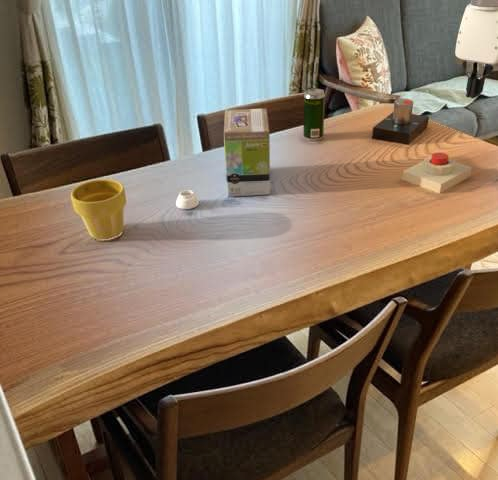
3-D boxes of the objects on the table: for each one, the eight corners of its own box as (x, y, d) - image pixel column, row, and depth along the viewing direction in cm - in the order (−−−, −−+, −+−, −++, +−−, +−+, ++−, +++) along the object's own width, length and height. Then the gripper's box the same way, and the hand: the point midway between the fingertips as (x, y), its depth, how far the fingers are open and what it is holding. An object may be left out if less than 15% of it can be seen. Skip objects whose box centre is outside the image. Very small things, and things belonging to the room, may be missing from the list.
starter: (432, 164, 129) (435, 147, 127) (470, 176, 123) (474, 159, 121) (401, 180, 124) (404, 163, 121) (439, 193, 118) (442, 176, 115)
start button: (436, 158, 123) (437, 151, 122) (450, 163, 121) (451, 155, 120) (427, 163, 121) (428, 155, 120) (441, 167, 119) (442, 160, 118)
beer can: (326, 139, 144) (328, 93, 137) (307, 142, 144) (307, 96, 136) (319, 132, 148) (320, 87, 141) (300, 135, 148) (301, 89, 140)
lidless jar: (176, 200, 121) (176, 211, 117) (175, 188, 119) (174, 199, 115) (199, 199, 121) (199, 209, 117) (197, 187, 119) (197, 197, 116)
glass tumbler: (389, 122, 143) (391, 101, 140) (396, 117, 146) (399, 96, 143) (406, 126, 141) (409, 104, 138) (413, 120, 144) (416, 99, 140)
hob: (392, 121, 152) (394, 110, 150) (427, 127, 148) (429, 115, 146) (371, 138, 144) (373, 126, 142) (407, 145, 139) (409, 133, 137)
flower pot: (142, 231, 111) (134, 187, 105) (100, 252, 106) (88, 207, 100) (114, 216, 117) (104, 173, 111) (72, 235, 112) (59, 191, 105)
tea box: (271, 195, 121) (270, 129, 112) (227, 197, 121) (221, 132, 112) (268, 167, 133) (266, 106, 123) (228, 169, 133) (223, 108, 123)
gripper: (539, -3, 101) (515, 98, 112) (467, -9, 110) (452, 85, 121) (518, 4, 97) (496, 108, 109) (446, -2, 106) (432, 94, 118)
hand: (473, 95), depth 115 cm, fingers closed
